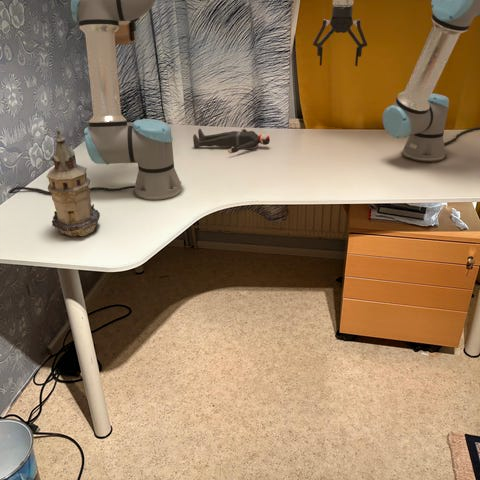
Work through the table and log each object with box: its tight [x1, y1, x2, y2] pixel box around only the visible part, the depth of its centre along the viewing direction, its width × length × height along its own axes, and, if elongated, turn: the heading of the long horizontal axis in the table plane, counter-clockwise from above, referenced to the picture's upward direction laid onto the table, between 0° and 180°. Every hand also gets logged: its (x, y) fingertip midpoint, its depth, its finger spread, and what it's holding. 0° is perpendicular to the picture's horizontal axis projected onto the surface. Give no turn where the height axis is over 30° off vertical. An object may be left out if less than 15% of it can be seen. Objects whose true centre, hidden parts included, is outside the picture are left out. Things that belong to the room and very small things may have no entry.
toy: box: [192, 128, 271, 155], centre depth 214 cm, size 26×6×30 cm
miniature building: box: [46, 129, 101, 237], centre depth 148 cm, size 13×14×30 cm
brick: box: [115, 21, 137, 46], centre depth 207 cm, size 9×6×7 cm
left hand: (124, 39), depth 208 cm, fingers closed on brick, 6 cm apart
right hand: (338, 65), depth 208 cm, fingers open, 13 cm apart
